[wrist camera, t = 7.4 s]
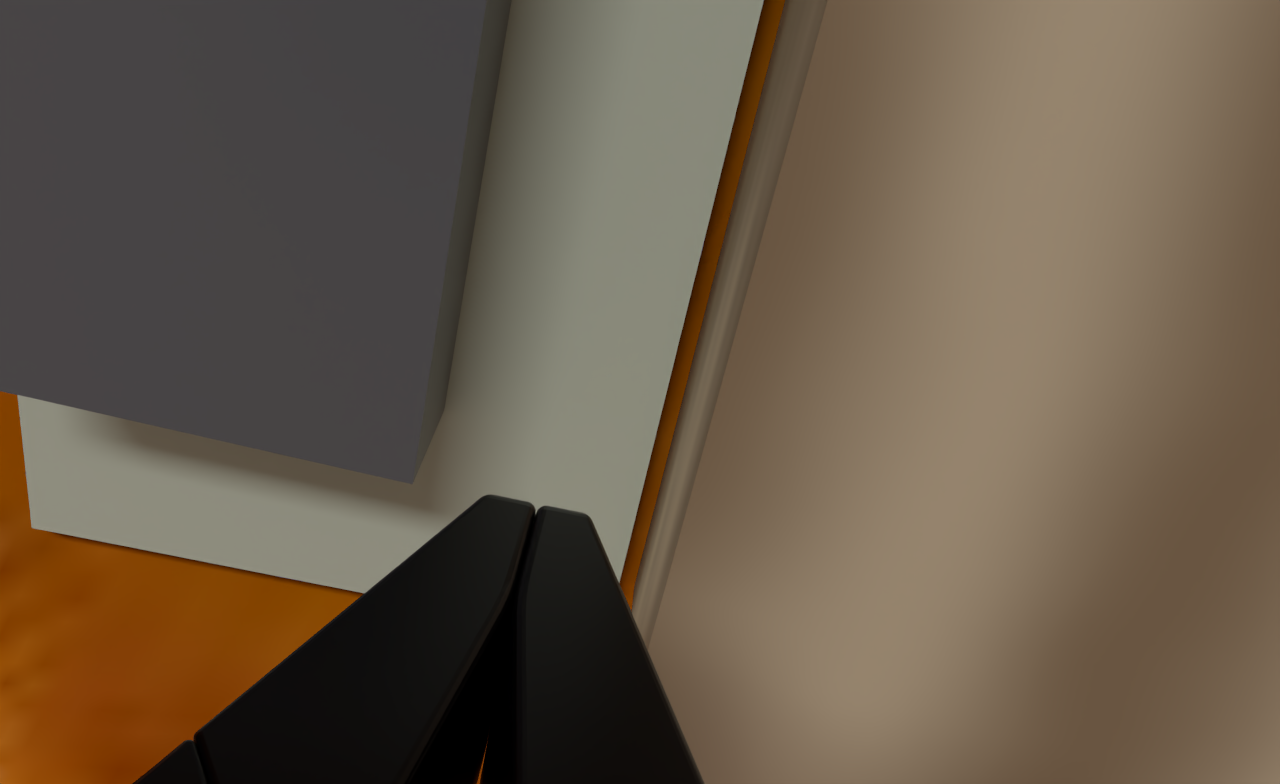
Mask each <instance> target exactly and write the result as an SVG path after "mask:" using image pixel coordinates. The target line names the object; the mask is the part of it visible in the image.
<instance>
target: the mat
mask: <svg viewBox="0 0 1280 784" xmlns="http://www.w3.org/2000/svg"><path fill="white" fill-rule="evenodd" d="M763 1H764V0H512V1H511V7H510V13H509V19H508V25H507V31H506V37H505V43H504V49H503V56H502V62H501V68H500V74H499V80H498V86H497V92H496V98H495V104H494V110H493V116H492V122H491V129H490V135H489V141H488V147H487V153H486V159H485V165H484V171H483V177H482V183H481V189H480V195H479V202H478V208H477V214H476V220H475V226H474V232H473V238H472V244H471V250H470V256H469V262H468V268H467V275H466V281H465V287H464V293H463V299H462V305H461V311H460V317H459V323H458V329H457V335H456V342H455V348H454V354H453V360H452V366H451V372H450V378H449V384H448V390H447V396H446V402H445V408H444V412H443V414H442V417H441V419H440V421H439V424H438V426H437V428H436V431H435V433H434V435H433V438H432V440H431V442H430V445H429V447H428V449H427V452H426V454H425V456H424V459H423V461H422V463H421V466H420V468H419V470H418V473H417V475H416V477H415V480H414V482H413V484H409V483H404V482H400V481H395V480H391V479H387V478H382V477H378V476H373V475H369V474H365V473H360V472H356V471H351V470H347V469H343V468H338V467H334V466H329V465H325V464H320V463H316V462H312V461H307V460H303V459H298V458H294V457H290V456H285V455H281V454H276V453H272V452H268V451H263V450H259V449H254V448H250V447H245V446H241V445H237V444H232V443H228V442H223V441H219V440H215V439H210V438H206V437H201V436H197V435H193V434H188V433H184V432H179V431H175V430H171V429H166V428H162V427H157V426H153V425H148V424H144V423H140V422H135V421H131V420H126V419H122V418H118V417H113V416H109V415H104V414H100V413H96V412H91V411H87V410H82V409H78V408H74V407H69V406H65V405H60V404H56V403H51V402H47V401H43V400H38V399H34V398H29V397H25V396H21V395H18V404H19V413H20V423H21V432H22V441H23V451H24V460H25V469H26V478H27V488H28V497H29V506H30V515H31V525H32V528H35V529H40V530H45V531H50V532H55V533H60V534H66V535H71V536H76V537H81V538H86V539H91V540H96V541H101V542H106V543H111V544H116V545H121V546H126V547H132V548H137V549H142V550H147V551H152V552H157V553H162V554H167V555H172V556H177V557H182V558H187V559H192V560H197V561H203V562H208V563H213V564H218V565H223V566H228V567H233V568H238V569H243V570H248V571H253V572H258V573H263V574H269V575H274V576H279V577H284V578H289V579H294V580H299V581H304V582H309V583H314V584H319V585H324V586H329V587H335V588H340V589H345V590H350V591H355V592H360V593H366V592H367V591H368V590H369V589H371V588H372V587H373V586H374V585H375V584H377V583H378V582H379V581H380V580H381V579H383V578H384V577H385V576H386V575H388V574H389V573H390V572H391V571H392V570H394V569H395V568H396V567H397V566H398V565H400V564H401V563H402V562H403V561H405V560H406V559H407V558H408V557H409V556H411V555H412V554H413V553H414V552H415V551H417V550H418V549H419V548H420V547H422V546H423V545H424V544H425V543H426V542H428V541H429V540H430V539H431V538H432V537H434V536H435V535H436V534H437V533H439V532H440V531H441V530H442V529H443V528H445V527H446V526H447V525H448V524H449V523H451V522H452V521H453V520H454V519H455V518H457V517H458V516H459V515H460V514H462V513H463V512H464V511H465V510H466V509H468V508H469V507H470V506H471V505H472V504H474V503H475V502H476V501H477V500H479V499H480V498H481V497H482V496H485V495H488V494H492V495H498V496H503V497H508V498H513V499H518V500H523V501H528V502H530V503H532V504H533V505H534V507H535V509H536V512H537V510H538V509H539V508H540V507H542V506H552V507H557V508H562V509H567V510H572V511H577V512H582V513H585V514H587V515H588V516H589V517H590V518H591V519H592V521H593V523H594V526H595V528H596V530H597V533H598V535H599V537H600V540H601V542H602V544H603V547H604V549H605V551H606V554H607V556H608V558H609V561H610V563H611V565H612V568H613V570H614V572H615V575H616V577H617V579H618V582H620V578H621V574H622V570H623V566H624V562H625V558H626V554H627V550H628V546H629V542H630V538H631V534H632V530H633V526H634V522H635V518H636V514H637V510H638V506H639V502H640V498H641V494H642V490H643V486H644V482H645V477H646V473H647V469H648V465H649V461H650V457H651V453H652V449H653V445H654V441H655V437H656V433H657V429H658V425H659V421H660V417H661V413H662V409H663V405H664V401H665V397H666V393H667V389H668V385H669V381H670V377H671V373H672V369H673V365H674V361H675V356H676V352H677V348H678V344H679V340H680V336H681V332H682V328H683V324H684V320H685V316H686V312H687V308H688V304H689V300H690V296H691V292H692V288H693V284H694V280H695V276H696V272H697V268H698V264H699V260H700V256H701V252H702V248H703V244H704V239H705V235H706V231H707V227H708V223H709V219H710V215H711V211H712V207H713V203H714V199H715V195H716V191H717V187H718V183H719V179H720V175H721V171H722V167H723V163H724V159H725V155H726V151H727V147H728V143H729V139H730V135H731V131H732V127H733V123H734V118H735V114H736V110H737V106H738V102H739V98H740V94H741V90H742V86H743V82H744V78H745V74H746V70H747V66H748V62H749V58H750V54H751V50H752V46H753V42H754V38H755V34H756V30H757V26H758V22H759V18H760V14H761V10H762V6H763ZM535 515H536V514H535Z"/></svg>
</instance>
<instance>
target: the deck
mask: <svg viewBox="0 0 1280 784" xmlns="http://www.w3.org/2000/svg"><path fill="white" fill-rule="evenodd" d="M632 614H633V617H634V619H635V621H636V624H637V626H638V628H639V631H640V633H641V635H642V638H643V640H644V642H645V645H646V647H647V650H648V652H649V654H650V657H651V659H652V661H653V664H654V666H655V668H656V671H657V673H658V675H659V678H660V680H661V682H662V685H663V687H664V689H665V692H666V694H667V696H668V699H669V701H670V703H671V706H672V708H673V710H674V713H675V715H676V717H677V720H678V722H679V724H680V727H681V729H682V731H683V734H684V736H685V738H686V741H687V743H688V745H689V748H690V750H691V752H692V755H693V757H694V759H695V762H696V764H697V766H698V769H699V771H700V773H701V776H702V778H703V780H704V783H705V784H1280V0H785V4H784V8H783V12H782V16H781V20H780V23H779V27H778V31H777V35H776V39H775V43H774V47H773V51H772V55H771V58H770V62H769V66H768V70H767V74H766V78H765V82H764V86H763V89H762V93H761V97H760V101H759V105H758V109H757V113H756V117H755V121H754V124H753V128H752V132H751V136H750V140H749V144H748V148H747V152H746V155H745V159H744V163H743V167H742V171H741V175H740V179H739V183H738V186H737V190H736V194H735V198H734V202H733V206H732V210H731V214H730V218H729V221H728V225H727V229H726V233H725V237H724V241H723V245H722V249H721V252H720V256H719V260H718V264H717V268H716V272H715V276H714V280H713V284H712V287H711V291H710V295H709V299H708V303H707V307H706V311H705V315H704V318H703V322H702V326H701V330H700V334H699V338H698V342H697V346H696V349H695V353H694V357H693V361H692V365H691V369H690V373H689V377H688V381H687V384H686V388H685V392H684V396H683V400H682V404H681V408H680V412H679V415H678V419H677V423H676V427H675V431H674V435H673V439H672V443H671V447H670V450H669V454H668V458H667V462H666V466H665V470H664V474H663V478H662V481H661V485H660V489H659V493H658V497H657V501H656V505H655V509H654V512H653V516H652V520H651V524H650V528H649V532H648V536H647V540H646V544H645V547H644V551H643V555H642V559H641V563H640V567H639V571H638V575H637V578H636V582H635V586H634V596H633V605H632Z"/></svg>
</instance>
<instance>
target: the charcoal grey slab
mask: <svg viewBox="0 0 1280 784" xmlns="http://www.w3.org/2000/svg"><path fill="white" fill-rule="evenodd" d="M511 1H512V0H0V391H3V392H7V393H12V394H16V395H21V396H25V397H29V398H34V399H38V400H43V401H47V402H51V403H56V404H60V405H65V406H69V407H74V408H78V409H82V410H87V411H91V412H96V413H100V414H104V415H109V416H113V417H118V418H122V419H126V420H131V421H135V422H140V423H144V424H148V425H153V426H157V427H162V428H166V429H171V430H175V431H179V432H184V433H188V434H193V435H197V436H201V437H206V438H210V439H215V440H219V441H223V442H228V443H232V444H237V445H241V446H245V447H250V448H254V449H259V450H263V451H268V452H272V453H276V454H281V455H285V456H290V457H294V458H298V459H303V460H307V461H312V462H316V463H320V464H325V465H329V466H334V467H338V468H343V469H347V470H351V471H356V472H360V473H365V474H369V475H373V476H378V477H382V478H387V479H391V480H395V481H400V482H404V483H409V484H413V482H414V480H415V477H416V475H417V473H418V470H419V468H420V466H421V463H422V461H423V459H424V456H425V454H426V452H427V449H428V447H429V445H430V442H431V440H432V438H433V435H434V433H435V431H436V428H437V426H438V424H439V421H440V419H441V417H442V414H443V412H444V408H445V402H446V396H447V390H448V384H449V378H450V372H451V366H452V360H453V354H454V348H455V342H456V335H457V329H458V323H459V317H460V311H461V305H462V299H463V293H464V287H465V281H466V275H467V268H468V262H469V256H470V250H471V244H472V238H473V232H474V226H475V220H476V214H477V208H478V202H479V195H480V189H481V183H482V177H483V171H484V165H485V159H486V153H487V147H488V141H489V135H490V129H491V122H492V116H493V110H494V104H495V98H496V92H497V86H498V80H499V74H500V68H501V62H502V56H503V49H504V43H505V37H506V31H507V25H508V19H509V13H510V7H511Z"/></svg>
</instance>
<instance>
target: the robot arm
mask: <svg viewBox="0 0 1280 784" xmlns="http://www.w3.org/2000/svg"><path fill="white" fill-rule="evenodd" d="M535 514H536V515H535ZM487 741H488V742H487ZM486 745H487V747H486ZM485 750H486V753H485ZM484 754H485V758H484ZM483 758H484V763H483V769H482V774H481V779H480V784H705V783H704V780H703V778H702V776H701V773H700V771H699V769H698V766H697V764H696V762H695V759H694V757H693V755H692V752H691V750H690V748H689V745H688V743H687V741H686V738H685V736H684V734H683V731H682V729H681V727H680V724H679V722H678V720H677V717H676V715H675V713H674V710H673V708H672V706H671V703H670V701H669V699H668V696H667V694H666V692H665V689H664V687H663V685H662V682H661V680H660V678H659V675H658V673H657V671H656V668H655V666H654V664H653V661H652V659H651V657H650V654H649V652H648V650H647V647H646V645H645V642H644V640H643V638H642V635H641V633H640V631H639V628H638V626H637V624H636V621H635V619H634V617H633V614H632V612H631V610H630V607H629V605H628V603H627V600H626V598H625V596H624V593H623V591H622V589H621V586H620V584H619V582H618V579H617V577H616V575H615V572H614V570H613V568H612V565H611V563H610V561H609V558H608V556H607V554H606V551H605V549H604V547H603V544H602V542H601V540H600V537H599V535H598V533H597V530H596V528H595V526H594V523H593V521H592V519H591V518H590V517H589V516H588V515H587V514H585V513H582V512H577V511H572V510H567V509H562V508H557V507H552V506H542V507H540V508H539V509H538V510H537V512H536V509H535V507H534V505H533V504H532V503H530V502H528V501H523V500H518V499H513V498H508V497H503V496H498V495H492V494H488V495H485V496H482V497H481V498H480V499H479V500H477V501H476V502H475V503H474V504H472V505H471V506H470V507H469V508H468V509H466V510H465V511H464V512H463V513H462V514H460V515H459V516H458V517H457V518H455V519H454V520H453V521H452V522H451V523H449V524H448V525H447V526H446V527H445V528H443V529H442V530H441V531H440V532H439V533H437V534H436V535H435V536H434V537H432V538H431V539H430V540H429V541H428V542H426V543H425V544H424V545H423V546H422V547H420V548H419V549H418V550H417V551H415V552H414V553H413V554H412V555H411V556H409V557H408V558H407V559H406V560H405V561H403V562H402V563H401V564H400V565H398V566H397V567H396V568H395V569H394V570H392V571H391V572H390V573H389V574H388V575H386V576H385V577H384V578H383V579H381V580H380V581H379V582H378V583H377V584H375V585H374V586H373V587H372V588H371V589H369V590H368V591H367V592H366V593H365V594H363V595H362V596H361V597H360V598H358V599H357V600H356V601H355V602H354V603H352V604H351V605H350V606H349V607H348V608H346V609H345V610H344V611H343V612H341V613H340V614H339V615H338V616H337V617H335V618H334V619H333V620H332V621H331V622H329V623H328V624H327V625H326V626H324V627H323V628H322V629H321V630H320V631H318V632H317V633H316V634H315V635H314V636H312V637H311V638H310V639H309V640H308V641H306V642H305V643H304V644H303V645H301V646H300V647H299V648H298V649H297V650H295V651H294V652H293V653H292V654H291V655H289V656H288V657H287V658H286V659H284V660H283V661H282V662H281V663H280V664H278V665H277V666H276V667H275V668H274V669H272V670H271V671H270V672H269V673H267V674H266V675H265V676H264V677H263V678H261V679H260V680H259V681H258V682H257V683H255V684H254V685H253V686H252V687H250V688H249V689H248V690H247V691H246V692H244V693H243V694H242V695H241V696H240V697H238V698H237V699H236V700H235V701H233V702H232V703H231V704H230V705H229V706H227V707H226V708H225V709H224V710H223V711H221V712H220V713H219V714H218V715H216V716H215V717H214V718H213V719H212V720H210V721H209V722H208V723H207V724H206V725H204V726H203V727H202V728H201V729H199V730H198V731H197V732H196V733H195V735H194V741H192V740H186V741H184V742H183V743H181V744H180V745H179V746H178V747H177V748H175V749H174V750H173V751H172V752H171V753H169V754H168V755H167V756H166V757H165V758H163V759H162V760H161V761H160V762H159V763H158V764H156V765H155V766H154V767H153V768H151V769H150V770H149V771H148V772H147V773H145V774H144V775H143V776H142V777H140V778H139V779H138V780H136V781H135V782H134V783H133V784H477V781H478V777H479V773H480V769H481V765H482V762H483Z"/></svg>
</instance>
